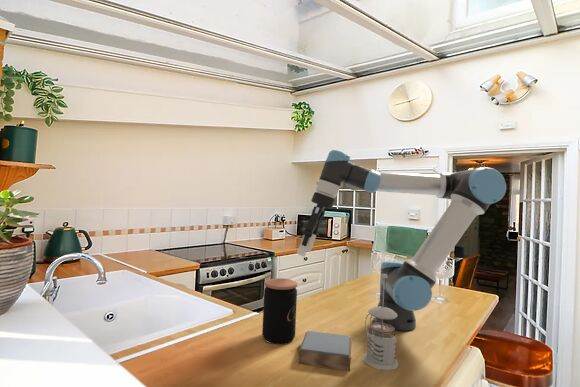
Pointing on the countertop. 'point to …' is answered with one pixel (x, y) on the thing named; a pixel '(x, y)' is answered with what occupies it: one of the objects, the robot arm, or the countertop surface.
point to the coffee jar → (279, 310)
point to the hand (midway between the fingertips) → (303, 253)
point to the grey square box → (326, 350)
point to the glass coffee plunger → (381, 338)
